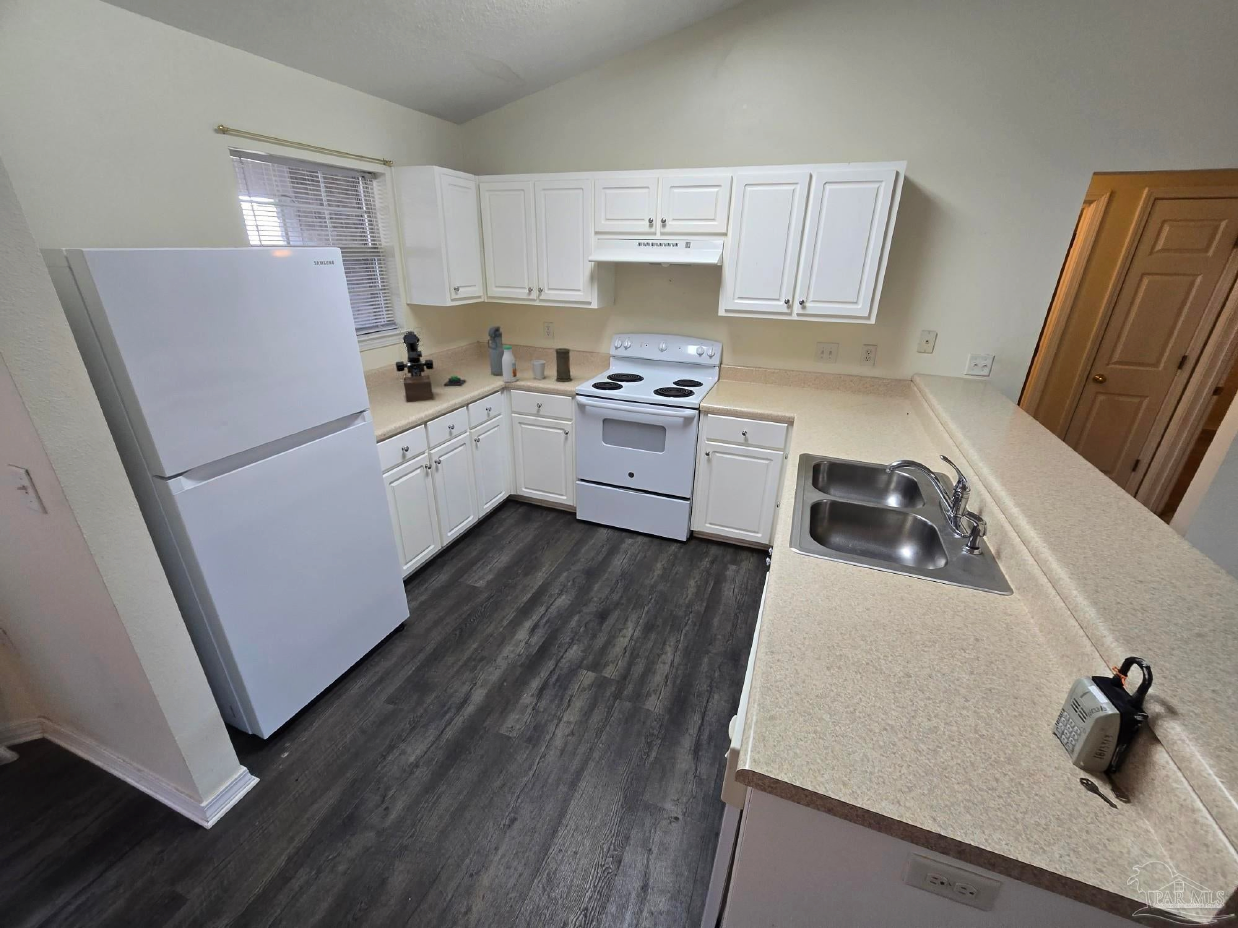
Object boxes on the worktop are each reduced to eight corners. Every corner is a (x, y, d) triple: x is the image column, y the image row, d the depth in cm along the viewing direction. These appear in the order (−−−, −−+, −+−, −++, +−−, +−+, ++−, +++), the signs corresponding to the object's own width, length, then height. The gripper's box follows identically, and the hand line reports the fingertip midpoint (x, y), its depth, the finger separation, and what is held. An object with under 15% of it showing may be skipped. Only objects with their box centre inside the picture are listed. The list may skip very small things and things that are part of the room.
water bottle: (501, 376, 307) (497, 328, 296) (487, 374, 310) (483, 327, 299) (510, 372, 316) (507, 326, 305) (497, 371, 319) (493, 325, 308)
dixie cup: (549, 378, 304) (548, 361, 300) (538, 380, 298) (537, 363, 294) (539, 375, 309) (539, 359, 305) (529, 378, 303) (528, 361, 299)
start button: (452, 378, 290) (451, 375, 290) (458, 378, 290) (458, 375, 290) (450, 380, 287) (450, 377, 286) (456, 380, 287) (456, 377, 286)
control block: (449, 381, 295) (449, 376, 293) (465, 381, 295) (464, 376, 294) (444, 386, 284) (443, 380, 283) (460, 386, 285) (459, 381, 283)
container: (559, 382, 293) (558, 351, 286) (553, 379, 300) (552, 348, 293) (573, 381, 297) (572, 350, 290) (568, 377, 304) (566, 347, 297)
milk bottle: (509, 383, 291) (506, 348, 284) (500, 381, 296) (497, 346, 288) (519, 380, 297) (517, 346, 289) (510, 378, 301) (508, 344, 294)
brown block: (406, 395, 266) (403, 377, 263) (431, 393, 271) (429, 375, 267) (406, 402, 255) (403, 383, 251) (433, 399, 259) (430, 381, 255)
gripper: (392, 346, 267) (396, 371, 262) (430, 344, 273) (434, 369, 268) (395, 358, 277) (398, 383, 272) (431, 356, 283) (435, 380, 278)
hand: (416, 378), depth 272 cm, fingers closed, pressing on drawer
